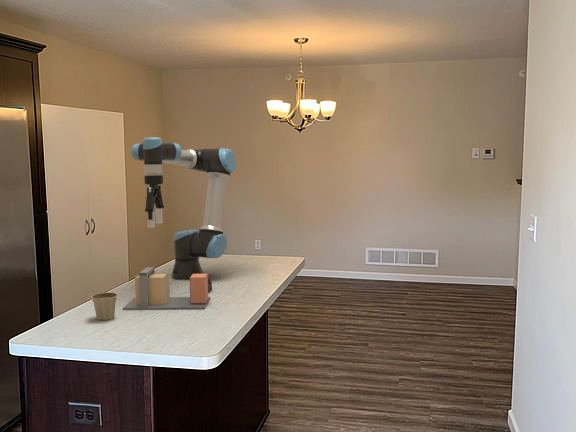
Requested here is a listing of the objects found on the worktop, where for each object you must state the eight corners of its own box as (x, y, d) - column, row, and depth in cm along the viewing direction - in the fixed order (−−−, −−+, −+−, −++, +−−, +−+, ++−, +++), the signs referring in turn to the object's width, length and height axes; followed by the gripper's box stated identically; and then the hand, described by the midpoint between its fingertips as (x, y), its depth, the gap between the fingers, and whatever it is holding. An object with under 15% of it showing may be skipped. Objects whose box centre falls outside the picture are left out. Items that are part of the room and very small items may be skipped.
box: (207, 293, 241) (207, 277, 241) (194, 293, 243) (194, 276, 242) (212, 290, 247) (211, 274, 247) (199, 289, 249) (199, 273, 248)
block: (193, 298, 228) (192, 273, 226) (208, 298, 227) (207, 273, 226) (190, 303, 221) (189, 277, 219) (205, 303, 220) (204, 277, 219)
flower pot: (103, 323, 199) (102, 299, 198) (86, 319, 204) (85, 296, 203) (124, 316, 207) (123, 294, 206) (107, 313, 212) (106, 291, 211)
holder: (134, 299, 232) (132, 265, 231) (210, 298, 232) (209, 265, 231) (122, 309, 216) (121, 274, 215) (204, 309, 216) (203, 273, 215)
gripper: (152, 174, 243) (153, 222, 245) (136, 175, 218) (138, 229, 221) (169, 173, 243) (170, 221, 245) (155, 175, 218) (157, 229, 221)
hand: (155, 225), depth 233 cm, fingers open, 13 cm apart
